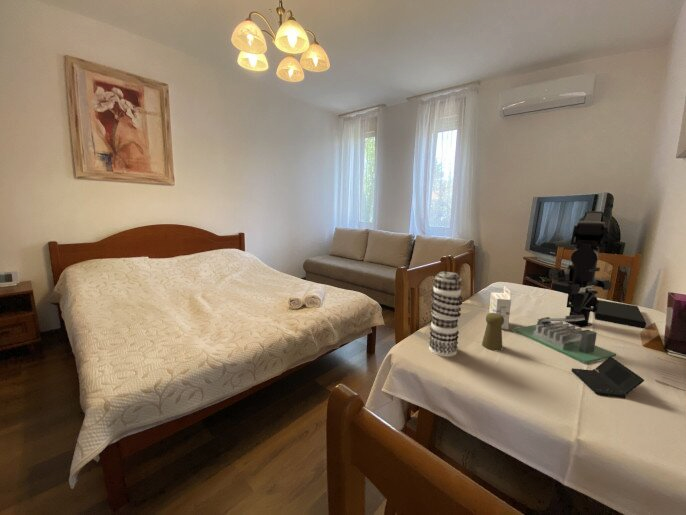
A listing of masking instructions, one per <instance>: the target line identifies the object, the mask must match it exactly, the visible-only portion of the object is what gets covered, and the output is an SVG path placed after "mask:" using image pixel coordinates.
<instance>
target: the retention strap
mask: <svg viewBox="0 0 686 515" xmlns="http://www.w3.org/2000/svg"><path fill="white" fill-rule="evenodd" d="M537 320H538V321H550V322H560V321H562V322H565V321H580V320H585V318H584V315H570V316H569V315H566V316H564V317H561V318H559V317H553V318H551V317H549V316H547V317H542V318H541V317H540V318H538V319H537ZM538 321H537V322H538Z"/></svg>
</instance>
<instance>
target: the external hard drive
mask: <svg viewBox="0 0 686 515" xmlns="http://www.w3.org/2000/svg"><path fill="white" fill-rule="evenodd" d="M597 300H598V301H599V303H598V309H597V312H593V314H594V320H595V321H596V320H597V321H602V322H606V323H607V322H608V323H612V324H618V325H622V326H628V327H633V328H634V327H635V328H638V329H639V328H640V329H644V328H645V329H646V327H647V326H646V325H647V322H646V320H645V318H644V315H643V314H642V313H641V310H640V309H639V307H638V305H632V304H626V303H621V302H613V301H607V300H601V299H597ZM645 329H644V330H645Z"/></svg>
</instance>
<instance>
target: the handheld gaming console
mask: <svg viewBox="0 0 686 515" xmlns="http://www.w3.org/2000/svg"><path fill="white" fill-rule="evenodd" d="M571 372H572V373H573V374H574V375H575V377H577V378H578V379H580V380H581V382H583V384H585V386H587V387H588V388H589V389H590V390H591V391H592V392H593V393H594V394H595V395H597V396H602V397H603V396H604V397H610V398H611V397H613V398H619V399H620V398H621V399H626V396H627V395H628V394H630V393H631V392H632V391H634V389H636V388H638V387H639V386H640V385H641V384H642V383H644V382H645V379H644V378H642V377H641V376H640V375H638V374H637V373H636V372H634V371H632V369H630V368H628V367H627V366H625V365H624V364H623V363H621V362H620V361H618V360H617V359H616V358H615V357H609V358H607V359H604V361H603V362H602V363H600V364H599V365H598V366H596V367H595V368H593V369H584V368H583V369H582V368H573V367H572V368H571Z"/></svg>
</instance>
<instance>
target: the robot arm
mask: <svg viewBox="0 0 686 515" xmlns="http://www.w3.org/2000/svg"><path fill="white" fill-rule="evenodd" d="M609 227H610V219H609V218H608V217H606V216H605V212H603V210H602V211H598V210H597V211H595V210H593V211H591V210H589V211H585V214H584V216H582V217H580V218H579V221H577V223H576V225H574V226H573V231H572V234H571V235H572V236H571V240H570V245H571V246H575V248H574V251H573V252H572V254H571V256H570V260H571V263H572V264H568V266H567V269H560V268H559V267H553V268H550V269H549V272H548V277H549V278H551V279H552V281H553V282H551V284H550V285H551V286H550V290H551V291H556V292H558V293H563V294H566V295H567V299H566V308H570V309H569V315H568V316H570V315H584V318H585V320H580V321H564V322H566V323H567V324H570V325H571V324H572V326H575V327H578V328H586V327H591V326H593V325H594V324H593V323H590V322H589V320H590V315H591V313H594V312H597V309H598V303H599V301H598V300H599V299H598V296H596V295H597V294H598V293H599V291H596V290H595V288H594V287H599V288H601V289H602V290H603V291H607V290H608V291H610V290H611V289H612V281H610V280H609V279H604V278H600V277H596V272H600V269H601V267H598V266H597V265H598V261H599V255H600V248H605V245H608V242H609V236H610V230H609ZM599 247H600V248H599Z"/></svg>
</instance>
